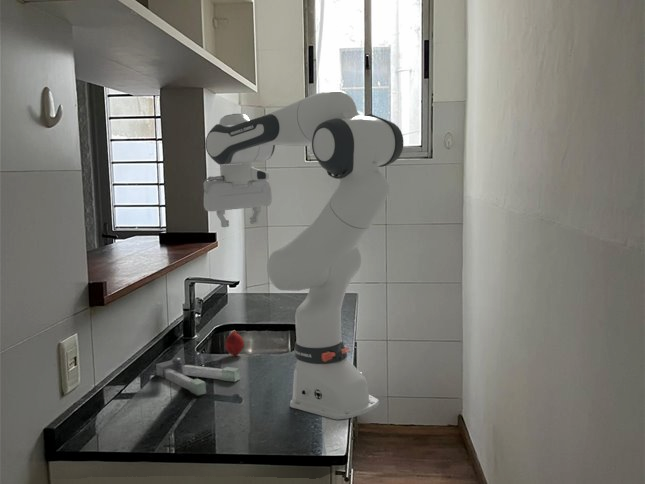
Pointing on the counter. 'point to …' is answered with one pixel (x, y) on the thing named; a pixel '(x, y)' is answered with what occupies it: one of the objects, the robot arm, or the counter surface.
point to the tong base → (180, 377)
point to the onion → (234, 343)
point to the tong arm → (210, 372)
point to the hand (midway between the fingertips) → (239, 225)
